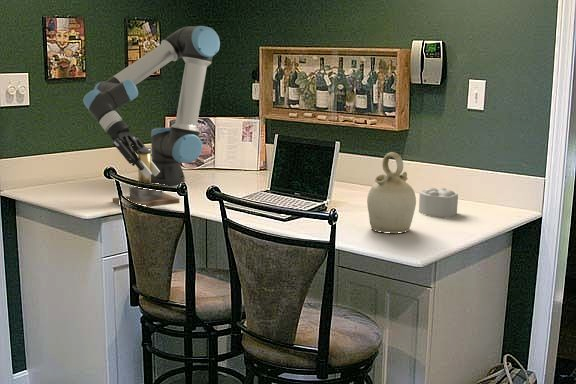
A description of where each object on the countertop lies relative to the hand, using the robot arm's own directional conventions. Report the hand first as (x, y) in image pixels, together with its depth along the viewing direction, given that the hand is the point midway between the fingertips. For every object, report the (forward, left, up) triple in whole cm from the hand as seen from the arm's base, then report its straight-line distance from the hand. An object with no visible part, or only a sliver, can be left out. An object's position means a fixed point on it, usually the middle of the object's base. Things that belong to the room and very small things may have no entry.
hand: (153, 174), depth 268 cm
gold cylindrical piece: (+2, -3, -5) cm, 6 cm away
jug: (-46, +75, -11) cm, 89 cm away
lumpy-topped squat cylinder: (-76, +67, -11) cm, 102 cm away
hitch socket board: (+2, -3, -11) cm, 11 cm away
